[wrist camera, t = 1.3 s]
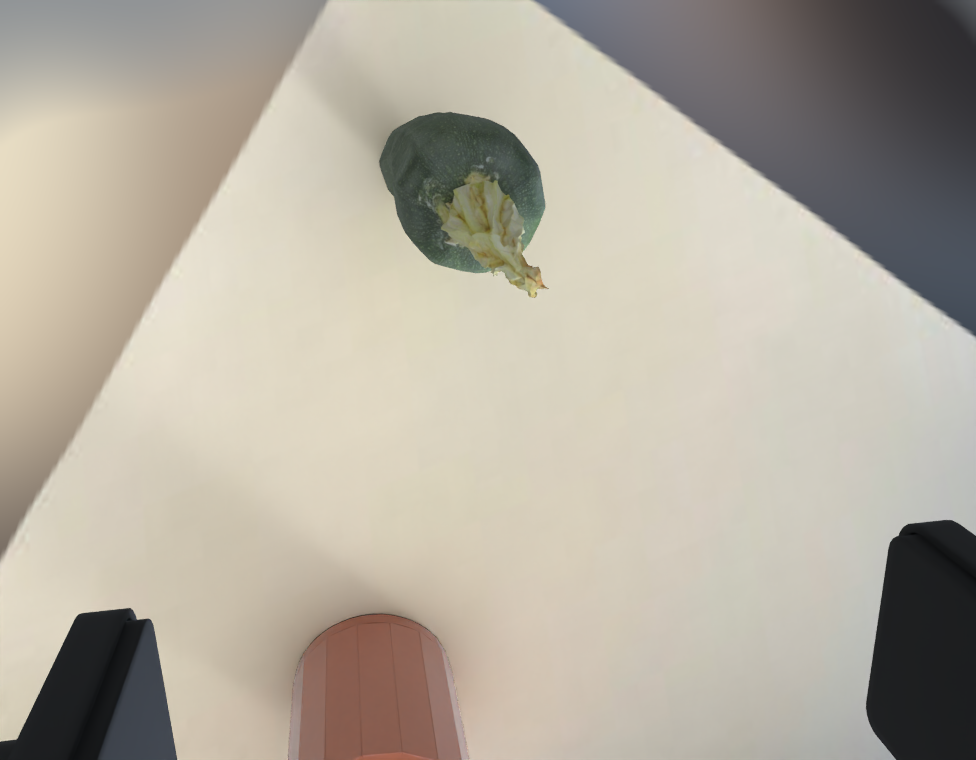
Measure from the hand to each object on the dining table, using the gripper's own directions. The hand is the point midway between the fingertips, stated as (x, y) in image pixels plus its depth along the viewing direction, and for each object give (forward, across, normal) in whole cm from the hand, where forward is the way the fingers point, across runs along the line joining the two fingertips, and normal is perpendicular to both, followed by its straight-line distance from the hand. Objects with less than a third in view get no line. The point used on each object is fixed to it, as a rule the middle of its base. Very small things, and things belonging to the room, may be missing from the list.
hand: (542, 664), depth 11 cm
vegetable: (+31, -2, -4) cm, 31 cm away
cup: (+30, +2, +23) cm, 38 cm away
